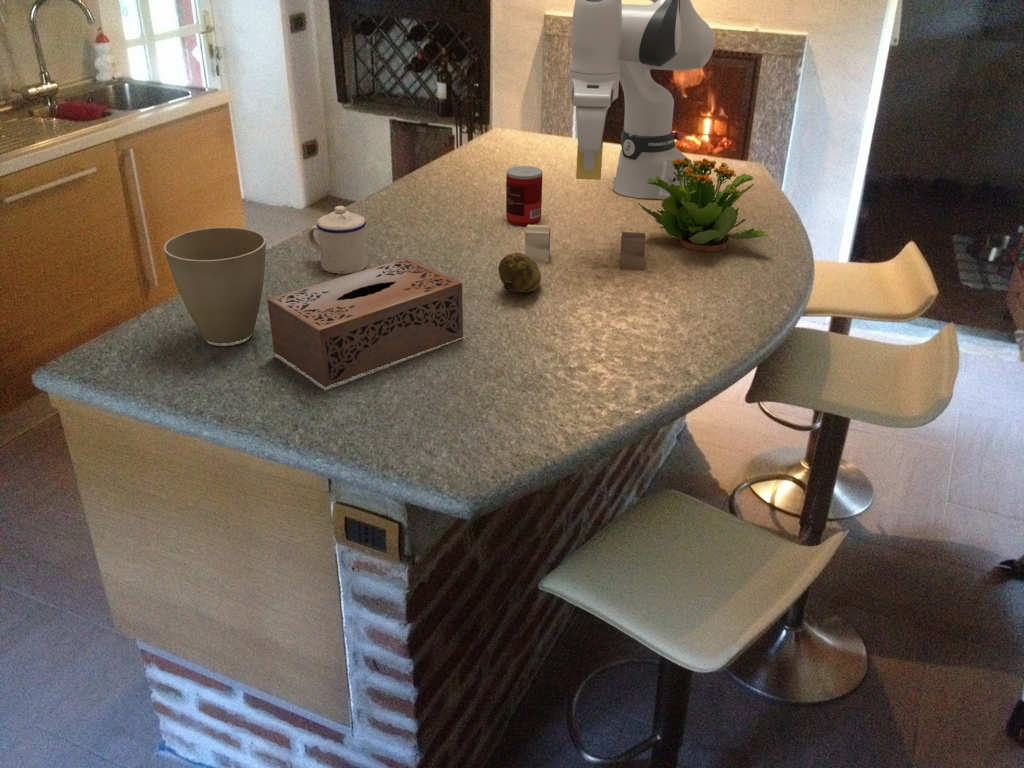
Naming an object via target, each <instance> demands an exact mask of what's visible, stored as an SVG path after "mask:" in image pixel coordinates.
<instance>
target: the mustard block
mask: <svg viewBox="0 0 1024 768" xmlns="http://www.w3.org/2000/svg"><path fill="white" fill-rule="evenodd" d="M603 149H604V141H603V140H602V141H601V146H600V150H599V152H595V159H594V169H593V170H585V169H584V152H580V151H579V147H578V146H577V149H576V151H577V153H576V154H577V155H576V173H575V179H576V180H594V181H601V178H602V167H603V166H602V164H603Z"/></svg>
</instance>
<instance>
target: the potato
mask: <svg viewBox="0 0 1024 768" xmlns="http://www.w3.org/2000/svg"><path fill="white" fill-rule="evenodd" d="M541 274H542V273H541V270H540V267H539V266H538V265H537V262H534V261H533V260H531V259H530V258H529V257H527V256H526V255H525V253H524V254H523V253H520V252H511V253H509V254H506V256H504V257H503V258H502V259H501V260H500V262H499V265H498V276H499V279H500V281H501V283H502V285H503V288H504V290H506V291H510V290H511V291H513V292H515V293H519V294H521V293H531V292H534V291H535V290H536V289H538V287H539V285H541V280H542V275H541Z"/></svg>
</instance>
